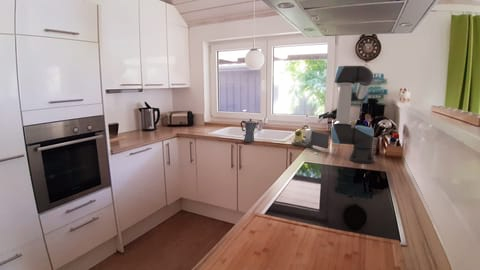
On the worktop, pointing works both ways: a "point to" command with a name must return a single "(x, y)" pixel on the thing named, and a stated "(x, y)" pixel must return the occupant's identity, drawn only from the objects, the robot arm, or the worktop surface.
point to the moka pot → (249, 130)
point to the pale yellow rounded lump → (298, 138)
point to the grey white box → (316, 139)
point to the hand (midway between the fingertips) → (327, 123)
